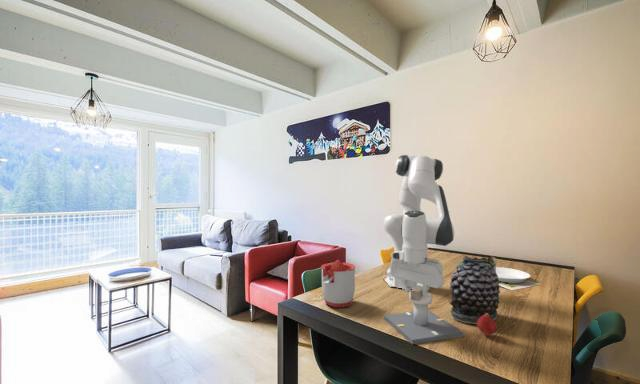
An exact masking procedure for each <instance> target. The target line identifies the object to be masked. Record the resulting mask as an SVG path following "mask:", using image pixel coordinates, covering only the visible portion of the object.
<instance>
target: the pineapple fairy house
mask: <svg viewBox="0 0 640 384" xmlns="http://www.w3.org/2000/svg"><path fill="white" fill-rule="evenodd" d="M462 258H463V259H462V261H460V262H459V263H458V265H456V269H455V270H454V271H453V273H452V274H453V275H452V276H450V282H449V284H450V285H449V287H448V289H450V290H451V295H452V297H451V299H449V300H448V304H449V305H450V306H452V308H451V309H450V313H451V316H452V317H453V319H455V320H457V321H459V322H461V323H466V324H474V325H477V322H478V319H479V318H480V317H481V316H483V315H485V314H486V313H488V315H489V316H490V317H491V318H492V319H493V320H494V321H496V319H497V317H498V311H497V310H498V308H499V304H500V301H499V300H500V299H501V298H500V293H501V290H500V288H501V285H500V282H499V279H498V275H497V274H496V267H497V263H498V261H499V260H498V259H497V258H496V257H494V256H492V255H491V256H489V257H488V258H487V257H484V256H481V258H478V257H474V255H473V256H472V258H471V257H468V256H467V255H464V256H463V257H462Z"/></svg>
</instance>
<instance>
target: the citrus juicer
mask: <svg viewBox="0 0 640 384" xmlns="http://www.w3.org/2000/svg"><path fill="white" fill-rule="evenodd" d="M320 268H321V291H322V295H323V300H324V302H325V304H326V305H327V304H328V305H330V306H329V307H331V306H333V307H332V308H337V307H342V308H346V307H345V306H347V307H349V306H350V304H352V302H353V301H354V295H355V290H356V276H355V275H356V274H355V271H356V270H355V269H356V266H355V264H352V263H348V262H342V261H341V260H340V259H336V260H335V261H334V262H327V263H324V264H321V266H320ZM328 305H327V306H328Z"/></svg>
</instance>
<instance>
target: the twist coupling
mask: <svg viewBox="0 0 640 384" xmlns="http://www.w3.org/2000/svg"><path fill="white" fill-rule="evenodd" d="M423 290H424V288H423V285H422V284H419V283H418V284H417V285H416V286H415V287H414V288H413V289H412V290H411V292H408V293H409V294H408V295H409V297H408V300H409V302H410V303H412V304H414V303H415V304H419V305H428V306H429V305H431V304H432V303H433V294H432V293H430V292H429V291H427V297H422V296H421V291H423Z"/></svg>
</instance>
